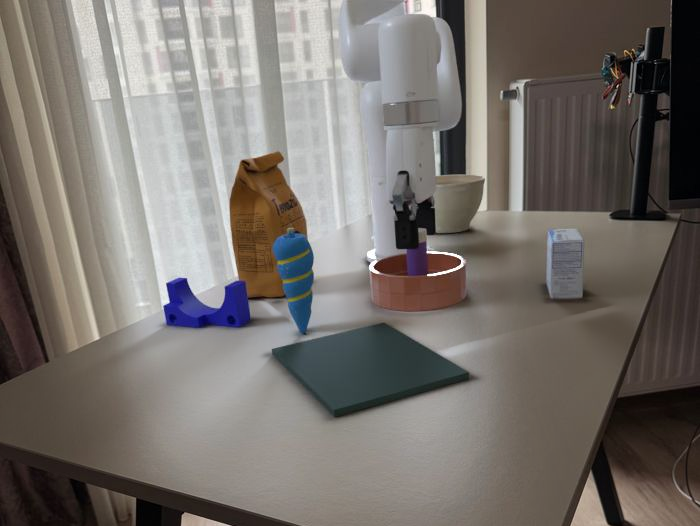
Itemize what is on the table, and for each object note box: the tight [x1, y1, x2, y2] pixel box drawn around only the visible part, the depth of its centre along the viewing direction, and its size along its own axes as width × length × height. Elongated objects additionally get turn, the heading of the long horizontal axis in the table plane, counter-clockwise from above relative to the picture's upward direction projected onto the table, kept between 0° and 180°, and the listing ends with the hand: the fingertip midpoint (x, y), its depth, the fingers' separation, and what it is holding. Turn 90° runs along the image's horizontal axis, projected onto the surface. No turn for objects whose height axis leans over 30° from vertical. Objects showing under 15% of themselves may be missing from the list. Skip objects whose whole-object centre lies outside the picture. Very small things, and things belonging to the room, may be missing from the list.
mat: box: [271, 322, 470, 418], centre depth 76 cm, size 20×16×1 cm
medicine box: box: [545, 228, 585, 299], centre depth 93 cm, size 8×4×9 cm, turn 168°
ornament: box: [273, 224, 315, 335], centre depth 85 cm, size 5×5×15 cm
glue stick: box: [406, 228, 428, 276], centre depth 96 cm, size 3×3×10 cm
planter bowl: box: [431, 174, 486, 234], centre depth 140 cm, size 16×16×11 cm
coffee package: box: [229, 150, 309, 299], centre depth 104 cm, size 10×12×22 cm
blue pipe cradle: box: [162, 277, 252, 329], centre depth 95 cm, size 12×4×6 cm, turn 65°
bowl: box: [368, 251, 468, 312], centre depth 97 cm, size 14×14×6 cm
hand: (416, 241), depth 94 cm, fingers open, 9 cm apart
